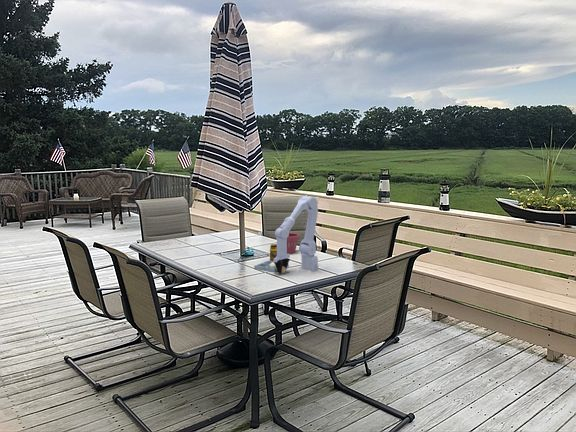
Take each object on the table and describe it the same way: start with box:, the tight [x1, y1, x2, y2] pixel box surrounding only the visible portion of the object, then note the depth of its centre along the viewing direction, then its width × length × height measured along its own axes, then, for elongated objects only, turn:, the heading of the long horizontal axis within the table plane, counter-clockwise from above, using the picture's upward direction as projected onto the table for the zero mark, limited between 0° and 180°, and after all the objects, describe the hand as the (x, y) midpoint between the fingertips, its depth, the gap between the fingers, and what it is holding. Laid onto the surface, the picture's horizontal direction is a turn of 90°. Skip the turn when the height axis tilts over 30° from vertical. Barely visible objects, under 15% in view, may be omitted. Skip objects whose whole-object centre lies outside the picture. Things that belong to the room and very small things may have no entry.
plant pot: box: [287, 232, 300, 255], centre depth 325 cm, size 14×14×13 cm
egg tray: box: [253, 260, 290, 273], centre depth 281 cm, size 15×15×3 cm
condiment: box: [269, 243, 277, 261], centre depth 296 cm, size 7×8×12 cm
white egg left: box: [269, 262, 276, 269], centre depth 276 cm, size 5×5×5 cm
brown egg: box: [280, 266, 287, 275], centre depth 271 cm, size 5×5×5 cm
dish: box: [274, 271, 290, 276], centre depth 271 cm, size 6×6×1 cm
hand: (281, 271), depth 271 cm, fingers closed on brown egg, 5 cm apart
